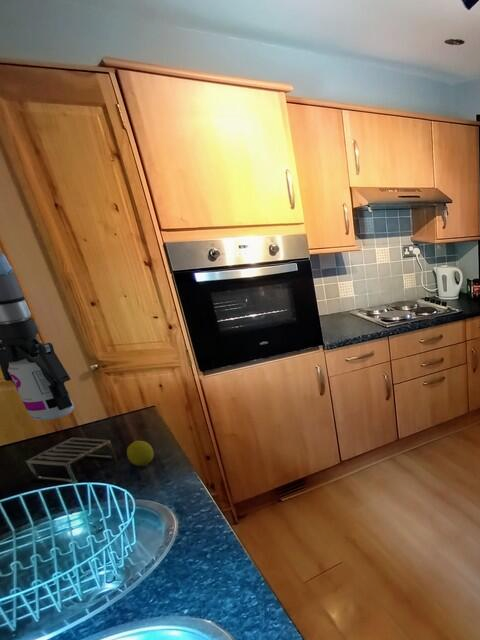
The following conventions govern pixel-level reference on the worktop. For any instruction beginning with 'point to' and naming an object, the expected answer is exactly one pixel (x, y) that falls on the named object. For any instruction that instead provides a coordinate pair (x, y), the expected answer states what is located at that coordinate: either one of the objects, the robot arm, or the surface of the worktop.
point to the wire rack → (78, 455)
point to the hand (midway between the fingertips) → (50, 406)
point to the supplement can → (35, 391)
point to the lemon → (140, 453)
